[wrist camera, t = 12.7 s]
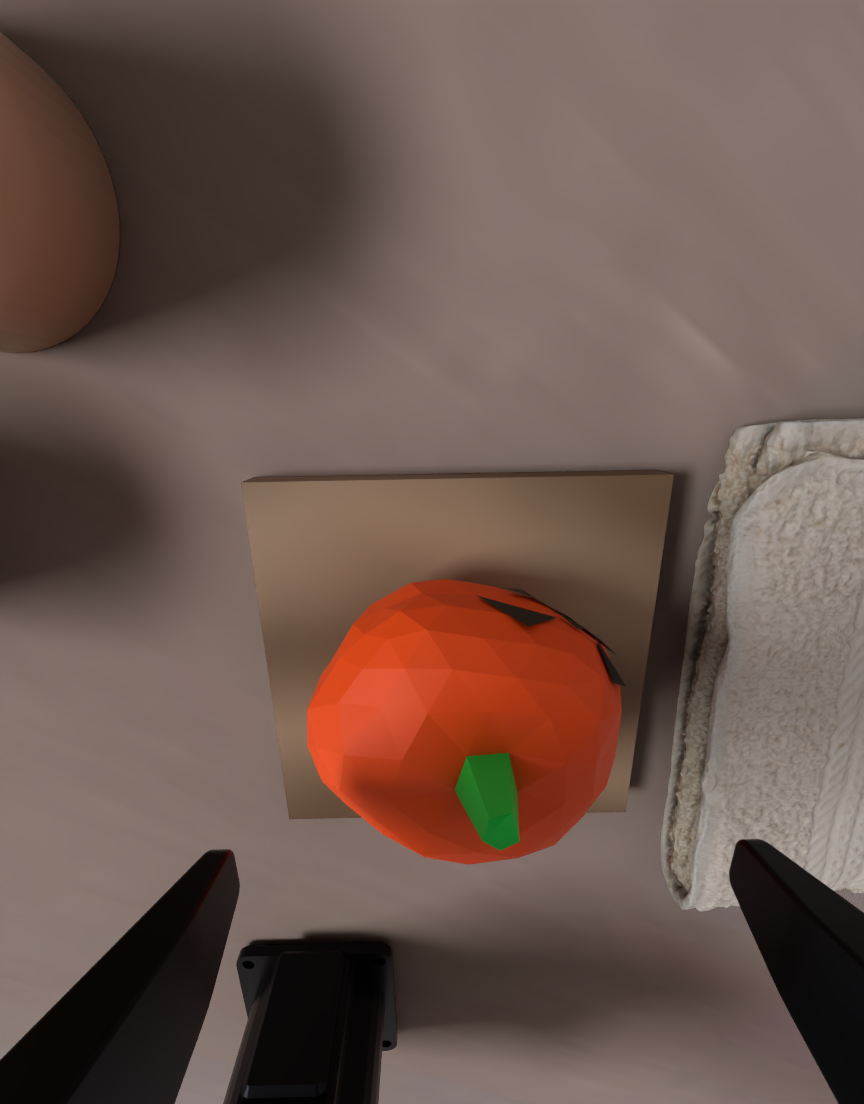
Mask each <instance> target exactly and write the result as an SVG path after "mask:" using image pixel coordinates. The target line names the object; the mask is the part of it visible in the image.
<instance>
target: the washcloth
mask: <svg viewBox="0 0 864 1104" xmlns="http://www.w3.org/2000/svg"><path fill="white" fill-rule="evenodd" d="M724 459H725V471H724V473H722V474H720V475H719V478H720V480H719V481H718V483H717V485H716V486H715V488H714V490H713V492H712V494H711V497H710V500H709V502H708V508H707V509H708V512H709V513H710V514H711V519H709V520H708V521H707V522H706V523H705V526H704V534H705V536H704V538H703V541H702V544H701V546H700V548H699V550H698V555H697V560H696V562H695V574H694V581H693V587H692V593H691V600H690V609H689V615H688V623H687V633H686V642H685V650H684V655H683V667H682V672H681V679H680V688H679V697H678V703H677V714H676V721H675V728H674V739H673V748H672V756H671V775H670V779H669V787H668V796H667V800H666V805H665V811H664V819H663V826H662V833H661V864H662V869H663V873H664V877H665V879H666V882H667V885H668V887H669V890H670V893H671V895H672V897H673V898H674V900H675V901H676V902H677V903H678V904H679V906H680V907H681V908H682V909H686V910H687V909H692V908H697V909H698V910H699V911H708V910H711V909H715V908H716V907H726V908H728V907H729V906H731V905H732V906H740V905H739V903H738V901H737V898H736V896H735V894H734V892H733V889H732V887H731V884H730V879H729V869H730V865H731V861H732V857H733V853H734V849H735V845H736V843H737V842H738V841H739V840H741V839H761V840H764V841H766V842H768V843H769V844H771V845H772V846H773V847H775V848H776V849H777V850H779V851H780V852H782V853H783V854H784V855H786V856H787V857H788V858H790V859H791V860H792V861H794V862H795V863H797V864H798V865H799V866H801V867H802V868H803V869H805V870H806V871H807V872H809V873H810V874H812V875H813V876H814V877H816V878H817V879H818V880H820V881H821V882H822V883H824V884H825V885H827V886H828V887H829V888H831V889H832V890H833V891H835V890H840V889H843V888H846V889H848V890H850V891H852V892H853V893H864V418H857V419H810V420H796V421H782V422H778V423H767V424H760V425H753V426H747V427H739V428H737V429H736V431H735V433H734V434H733V436H732V437H731V438H730V446H729V448H728V450H727V452H726V455H725V457H724ZM710 570H711V571H710Z"/></svg>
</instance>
